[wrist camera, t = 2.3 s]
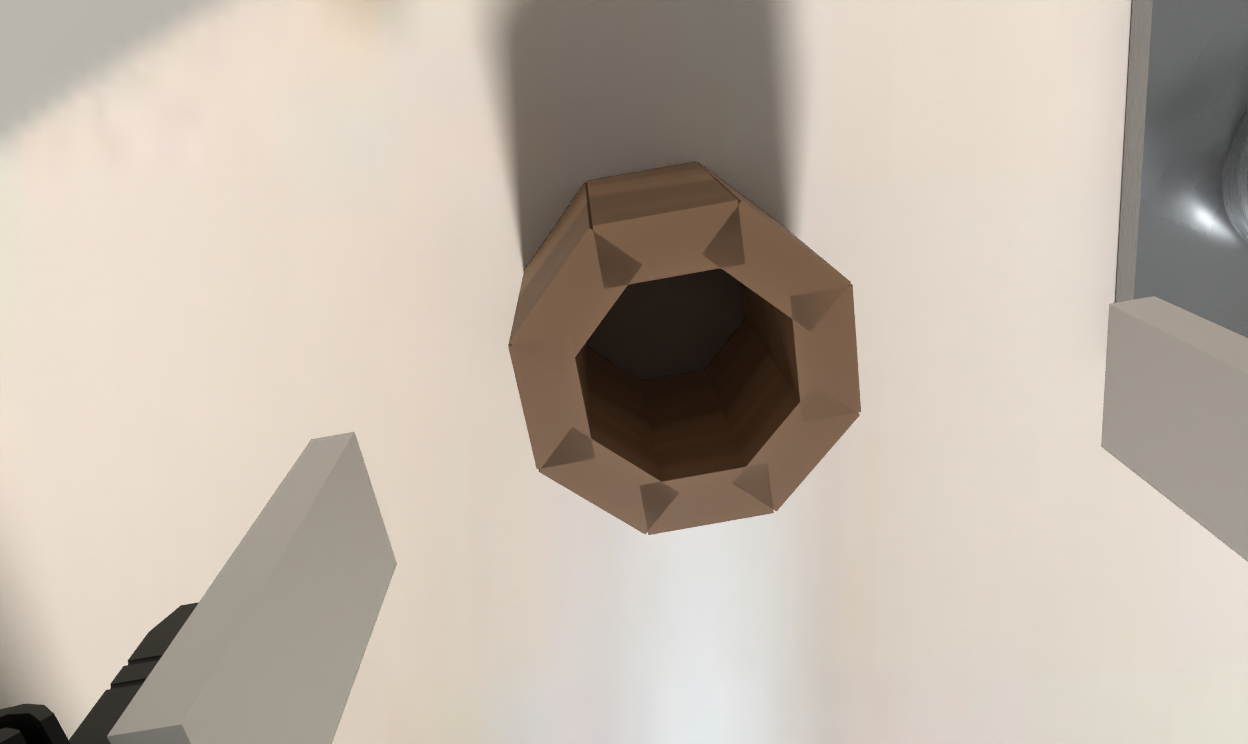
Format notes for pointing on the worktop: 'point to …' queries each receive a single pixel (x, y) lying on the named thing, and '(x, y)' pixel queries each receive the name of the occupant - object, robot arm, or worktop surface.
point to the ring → (693, 402)
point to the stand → (1187, 159)
